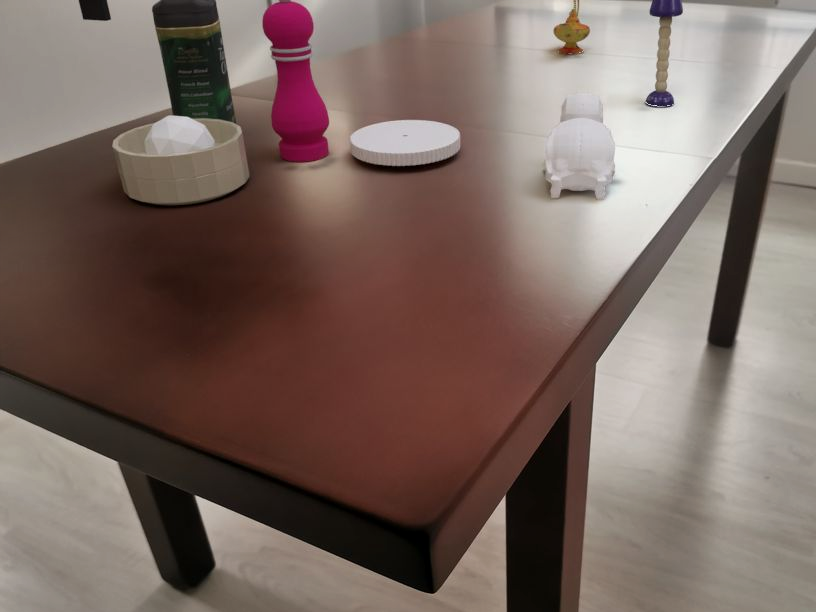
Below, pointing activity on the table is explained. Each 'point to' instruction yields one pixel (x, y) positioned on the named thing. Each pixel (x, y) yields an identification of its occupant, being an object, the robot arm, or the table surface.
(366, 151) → the plastic lid
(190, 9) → the coffee jar
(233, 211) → the table surface
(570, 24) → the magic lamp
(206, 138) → the geometric ball
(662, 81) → the toy lamp
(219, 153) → the bowl
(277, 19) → the pepper mill
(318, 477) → the table surface
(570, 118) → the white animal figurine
